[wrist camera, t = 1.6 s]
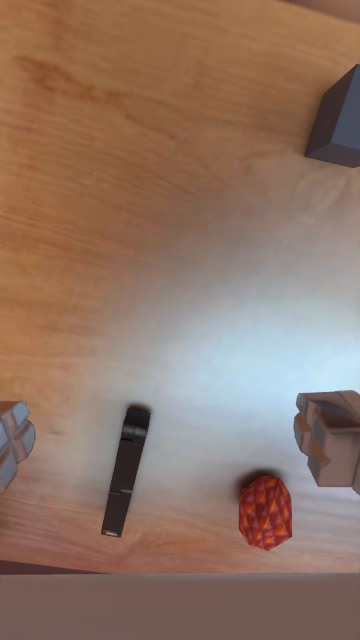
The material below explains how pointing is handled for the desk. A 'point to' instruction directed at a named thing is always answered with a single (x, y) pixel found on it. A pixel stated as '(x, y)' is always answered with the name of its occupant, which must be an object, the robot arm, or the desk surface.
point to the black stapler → (125, 471)
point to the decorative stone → (265, 513)
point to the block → (338, 123)
